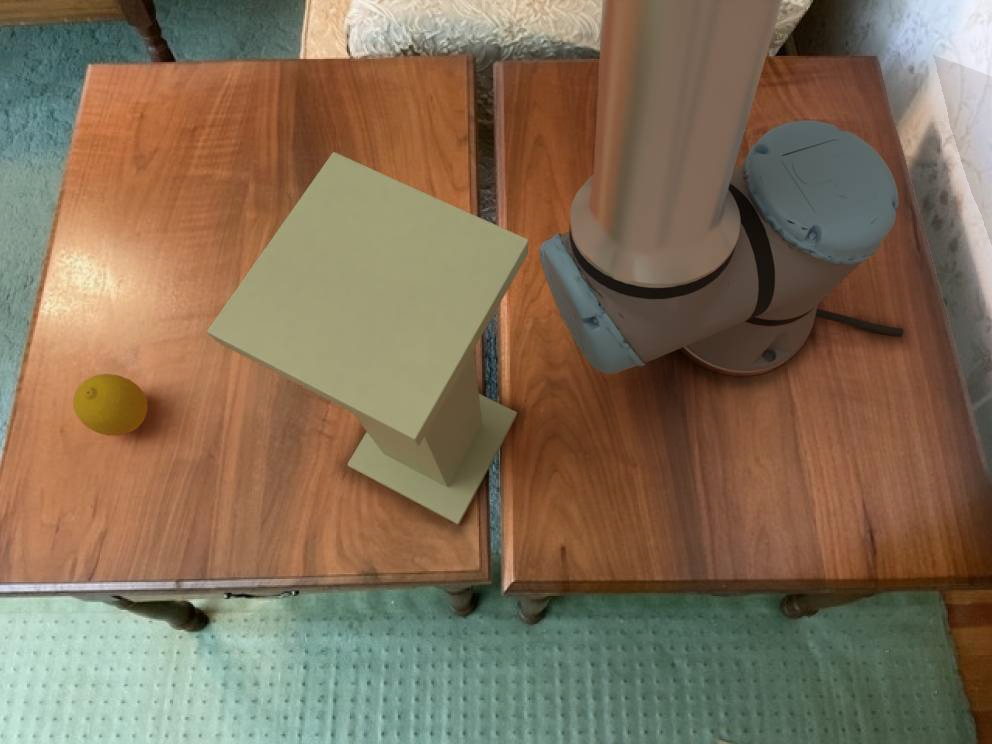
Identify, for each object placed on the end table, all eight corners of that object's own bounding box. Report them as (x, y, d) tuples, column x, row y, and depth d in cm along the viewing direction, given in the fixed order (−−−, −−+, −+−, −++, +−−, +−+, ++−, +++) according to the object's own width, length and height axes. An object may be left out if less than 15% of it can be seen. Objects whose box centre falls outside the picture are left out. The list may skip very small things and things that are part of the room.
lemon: (102, 446, 68) (51, 425, 60) (108, 391, 69) (60, 364, 62) (159, 442, 68) (116, 420, 60) (164, 388, 69) (122, 360, 62)
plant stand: (517, 415, 68) (529, 239, 36) (458, 525, 65) (415, 440, 33) (411, 362, 70) (333, 150, 38) (348, 466, 67) (205, 331, 35)
